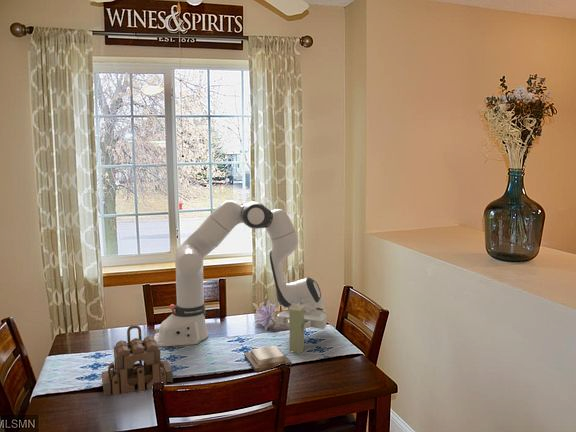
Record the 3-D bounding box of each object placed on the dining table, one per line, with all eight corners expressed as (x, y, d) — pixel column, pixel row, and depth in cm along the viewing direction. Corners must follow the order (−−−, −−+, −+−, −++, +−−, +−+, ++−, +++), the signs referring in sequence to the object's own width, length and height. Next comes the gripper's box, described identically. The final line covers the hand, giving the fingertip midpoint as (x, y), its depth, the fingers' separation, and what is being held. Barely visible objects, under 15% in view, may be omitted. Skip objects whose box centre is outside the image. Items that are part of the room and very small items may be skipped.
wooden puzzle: (104, 399, 157) (101, 343, 154) (101, 380, 170) (98, 328, 168) (174, 385, 166) (172, 332, 163) (166, 368, 179) (164, 318, 176)
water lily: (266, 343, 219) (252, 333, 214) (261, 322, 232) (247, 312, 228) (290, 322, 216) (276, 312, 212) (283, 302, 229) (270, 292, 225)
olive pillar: (289, 351, 193) (289, 307, 190) (293, 347, 197) (292, 303, 194) (300, 353, 191) (300, 308, 189) (304, 348, 195) (304, 304, 193)
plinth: (255, 371, 175) (255, 363, 175) (244, 356, 188) (244, 348, 188) (291, 365, 180) (291, 356, 180) (278, 350, 193) (278, 343, 193)
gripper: (282, 305, 208) (271, 315, 195) (329, 310, 201) (321, 321, 188) (282, 319, 209) (271, 331, 196) (329, 324, 202) (321, 337, 189)
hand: (296, 326), depth 192 cm, fingers closed on olive pillar, 4 cm apart
